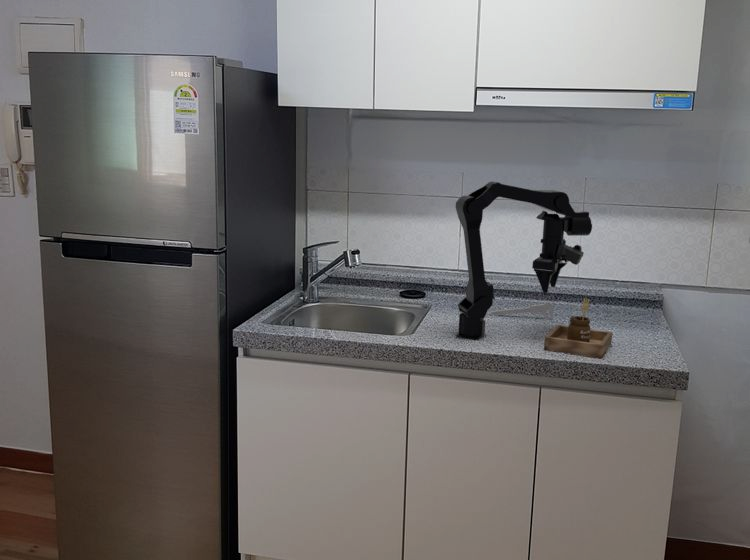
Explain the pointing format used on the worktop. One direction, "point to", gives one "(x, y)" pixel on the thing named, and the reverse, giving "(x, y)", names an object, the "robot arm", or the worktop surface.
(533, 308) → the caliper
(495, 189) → the robot arm
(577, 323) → the utensil holder
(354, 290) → the worktop surface
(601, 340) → the tray
